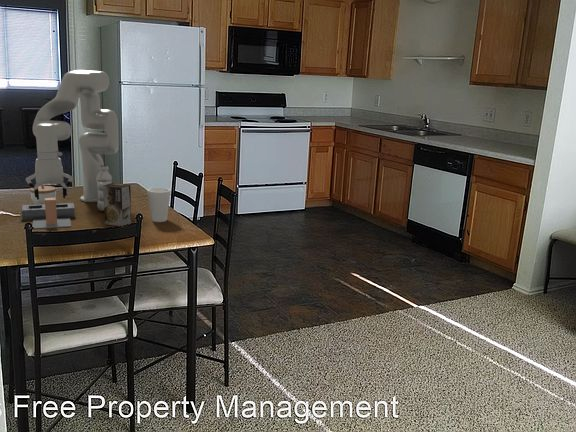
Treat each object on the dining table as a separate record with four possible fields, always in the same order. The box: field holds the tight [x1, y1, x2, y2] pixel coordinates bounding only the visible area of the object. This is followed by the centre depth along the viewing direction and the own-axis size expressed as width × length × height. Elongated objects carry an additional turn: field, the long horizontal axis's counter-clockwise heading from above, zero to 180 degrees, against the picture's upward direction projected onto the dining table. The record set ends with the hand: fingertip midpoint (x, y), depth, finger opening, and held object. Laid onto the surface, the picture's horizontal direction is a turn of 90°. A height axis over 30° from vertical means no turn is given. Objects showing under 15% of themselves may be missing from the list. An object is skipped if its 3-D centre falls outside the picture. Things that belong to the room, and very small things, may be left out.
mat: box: [32, 217, 72, 230], centre depth 228 cm, size 14×12×1 cm
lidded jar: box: [29, 185, 57, 205], centre depth 254 cm, size 11×11×9 cm
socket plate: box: [21, 202, 76, 221], centre depth 239 cm, size 20×9×4 cm, turn 112°
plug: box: [45, 197, 58, 225], centre depth 226 cm, size 4×4×10 cm
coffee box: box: [103, 182, 132, 227], centre depth 231 cm, size 9×6×16 cm
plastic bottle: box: [96, 164, 113, 212], centre depth 249 cm, size 6×7×20 cm
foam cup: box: [146, 187, 172, 223], centre depth 240 cm, size 10×9×13 cm
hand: (51, 198), depth 226 cm, fingers open, 9 cm apart
